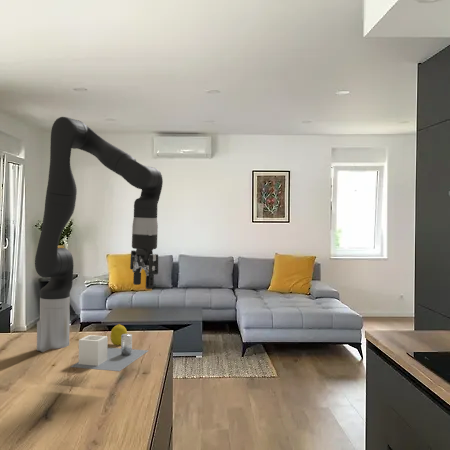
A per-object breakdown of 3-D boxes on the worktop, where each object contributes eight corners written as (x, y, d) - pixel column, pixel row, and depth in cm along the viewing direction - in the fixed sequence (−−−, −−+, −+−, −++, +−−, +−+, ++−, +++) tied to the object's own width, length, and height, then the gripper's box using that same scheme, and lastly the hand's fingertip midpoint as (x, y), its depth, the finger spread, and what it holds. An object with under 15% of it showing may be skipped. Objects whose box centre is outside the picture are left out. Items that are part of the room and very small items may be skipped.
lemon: (129, 345, 170) (129, 322, 170) (124, 350, 164) (124, 325, 164) (113, 345, 171) (113, 321, 170) (108, 349, 165) (108, 325, 165)
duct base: (69, 372, 141) (70, 366, 141) (105, 351, 162) (105, 347, 162) (119, 376, 137) (119, 371, 137) (148, 355, 159) (148, 350, 159)
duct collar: (78, 364, 143) (78, 339, 143) (88, 358, 149) (88, 334, 149) (97, 365, 142) (98, 341, 142) (107, 359, 148) (107, 336, 148)
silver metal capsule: (119, 355, 153) (119, 335, 153) (123, 352, 156) (124, 333, 156) (129, 356, 152) (129, 336, 152) (133, 353, 155) (133, 334, 155)
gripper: (123, 231, 154) (121, 284, 154) (143, 234, 142) (141, 290, 143) (145, 231, 158) (144, 282, 159) (167, 234, 146) (165, 289, 147)
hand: (143, 286), depth 151 cm, fingers open, 8 cm apart
